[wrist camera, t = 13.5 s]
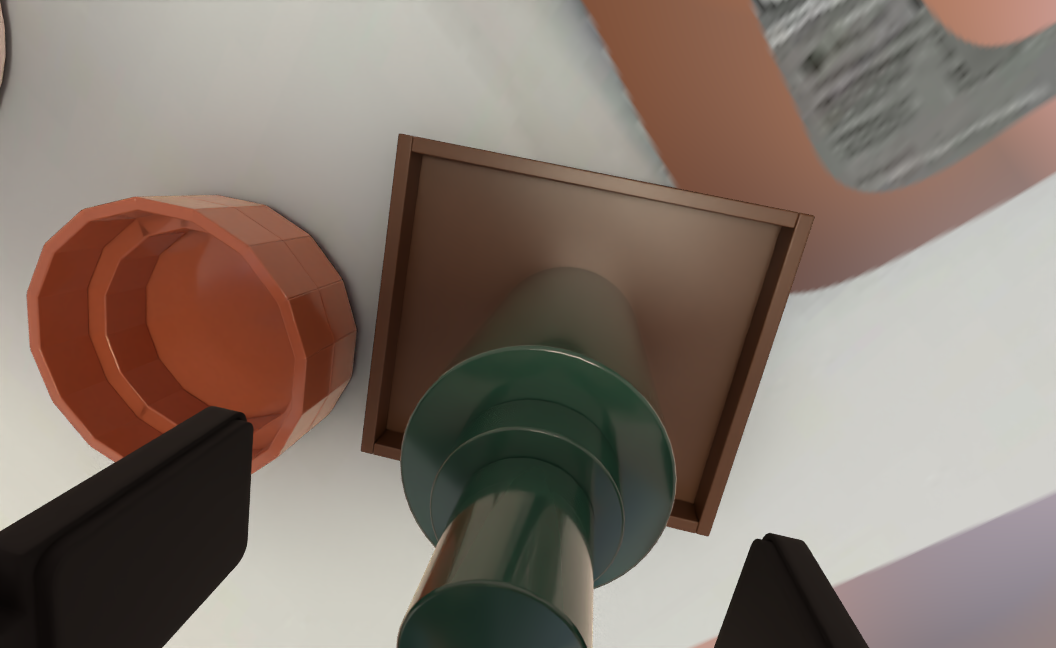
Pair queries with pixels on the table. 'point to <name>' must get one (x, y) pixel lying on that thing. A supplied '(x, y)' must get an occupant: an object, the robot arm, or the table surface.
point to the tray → (603, 248)
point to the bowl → (188, 321)
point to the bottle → (536, 469)
